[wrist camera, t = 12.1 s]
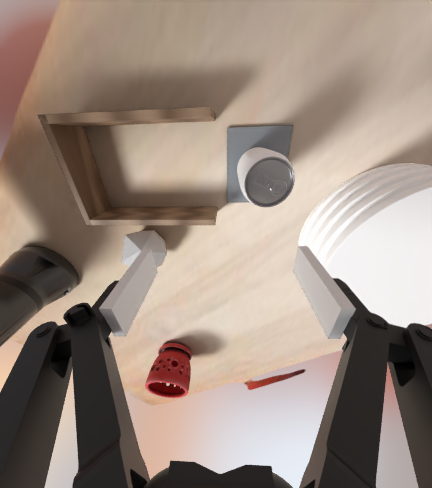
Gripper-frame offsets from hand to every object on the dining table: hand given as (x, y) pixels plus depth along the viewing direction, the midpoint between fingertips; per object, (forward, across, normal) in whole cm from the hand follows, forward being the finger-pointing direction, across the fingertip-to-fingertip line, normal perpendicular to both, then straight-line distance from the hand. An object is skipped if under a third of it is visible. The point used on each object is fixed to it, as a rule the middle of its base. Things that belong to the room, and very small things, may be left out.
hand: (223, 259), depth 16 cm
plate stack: (+20, -30, +9) cm, 37 cm away
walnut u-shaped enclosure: (+21, +13, -5) cm, 25 cm away
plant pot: (+22, +18, +55) cm, 62 cm away
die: (+21, +16, +10) cm, 29 cm away
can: (+20, -6, -5) cm, 22 cm away
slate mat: (+20, -6, -5) cm, 22 cm away
